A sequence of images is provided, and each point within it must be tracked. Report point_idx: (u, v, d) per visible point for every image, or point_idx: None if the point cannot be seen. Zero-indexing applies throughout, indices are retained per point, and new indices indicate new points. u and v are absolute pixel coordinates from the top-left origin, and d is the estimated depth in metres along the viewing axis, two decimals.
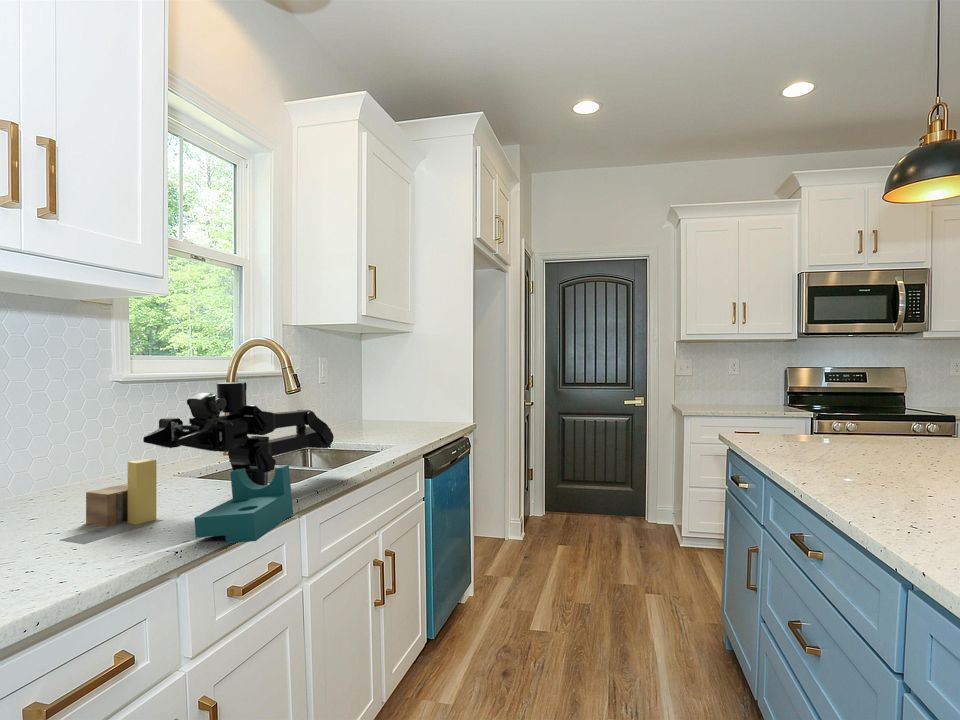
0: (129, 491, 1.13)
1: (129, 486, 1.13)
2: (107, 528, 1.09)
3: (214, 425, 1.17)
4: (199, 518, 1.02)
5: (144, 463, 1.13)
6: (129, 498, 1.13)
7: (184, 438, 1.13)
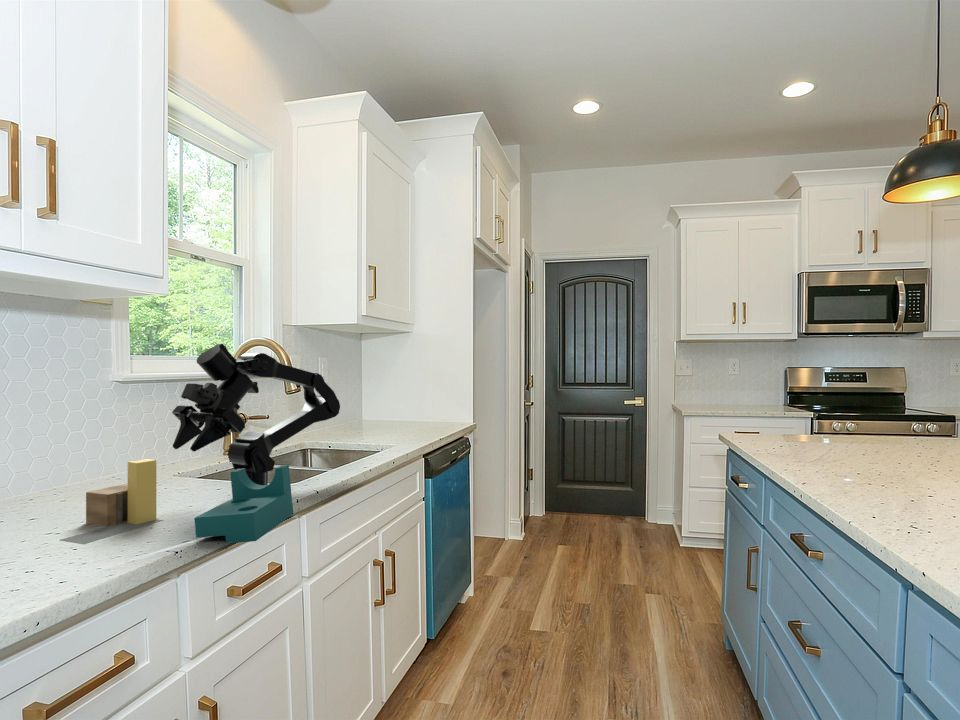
0: (129, 491, 1.13)
1: (129, 486, 1.13)
2: (107, 528, 1.09)
3: (212, 420, 1.21)
4: (199, 518, 1.02)
5: (144, 463, 1.13)
6: (129, 498, 1.13)
7: (195, 444, 1.20)
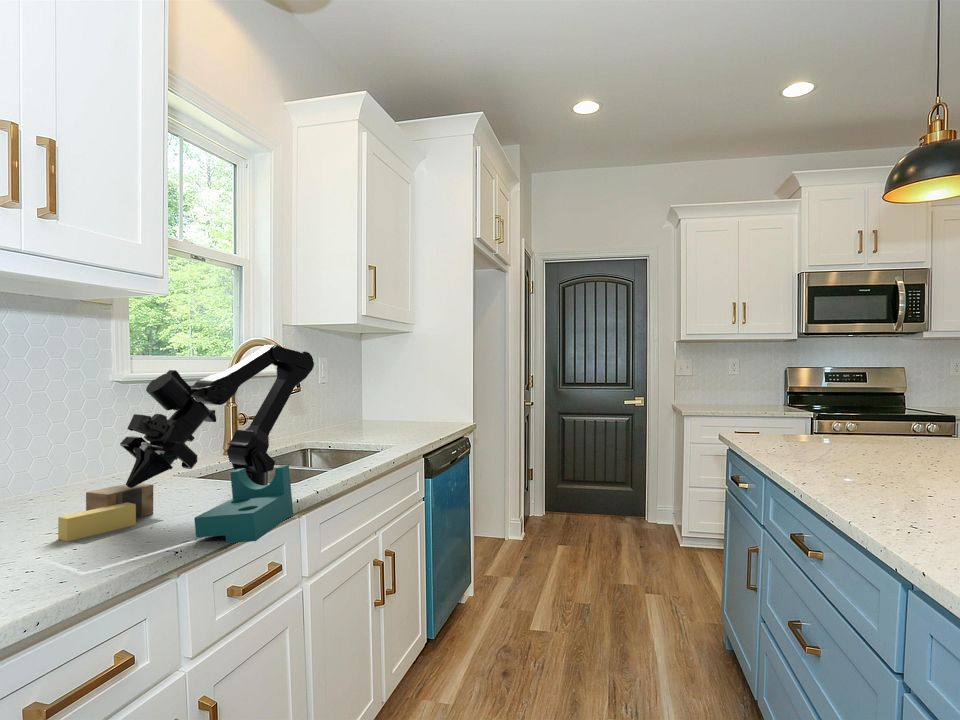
0: None
1: None
2: None
3: (152, 453, 1.13)
4: (199, 518, 1.02)
5: (69, 531, 1.02)
6: None
7: (132, 480, 1.12)
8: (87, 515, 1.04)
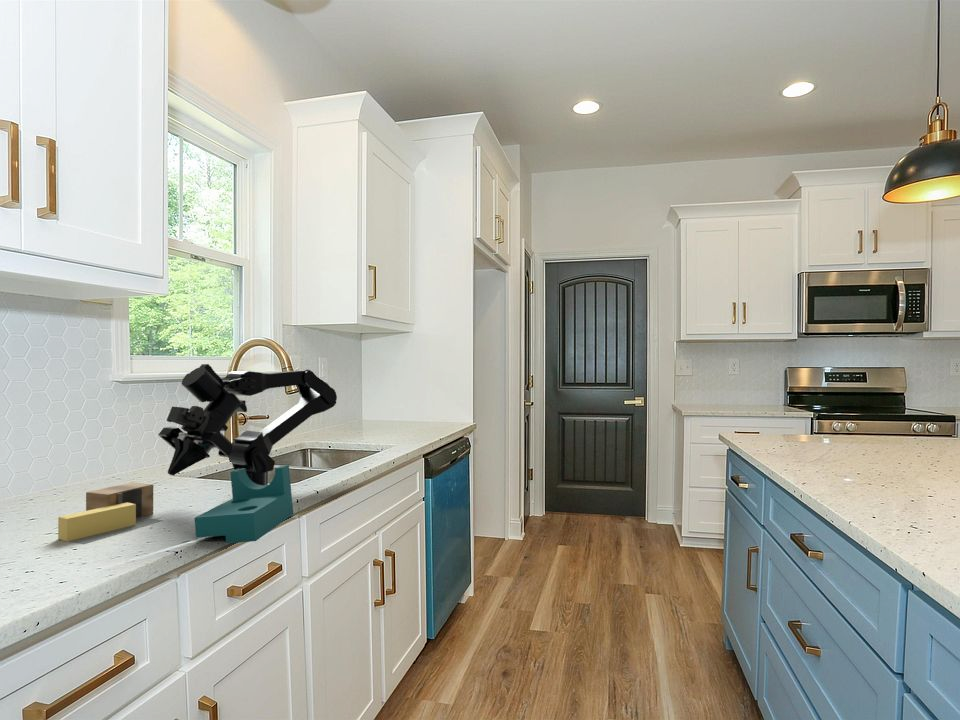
0: None
1: None
2: None
3: (190, 443, 1.20)
4: (199, 518, 1.02)
5: (69, 531, 1.02)
6: None
7: (173, 468, 1.19)
8: (87, 515, 1.04)
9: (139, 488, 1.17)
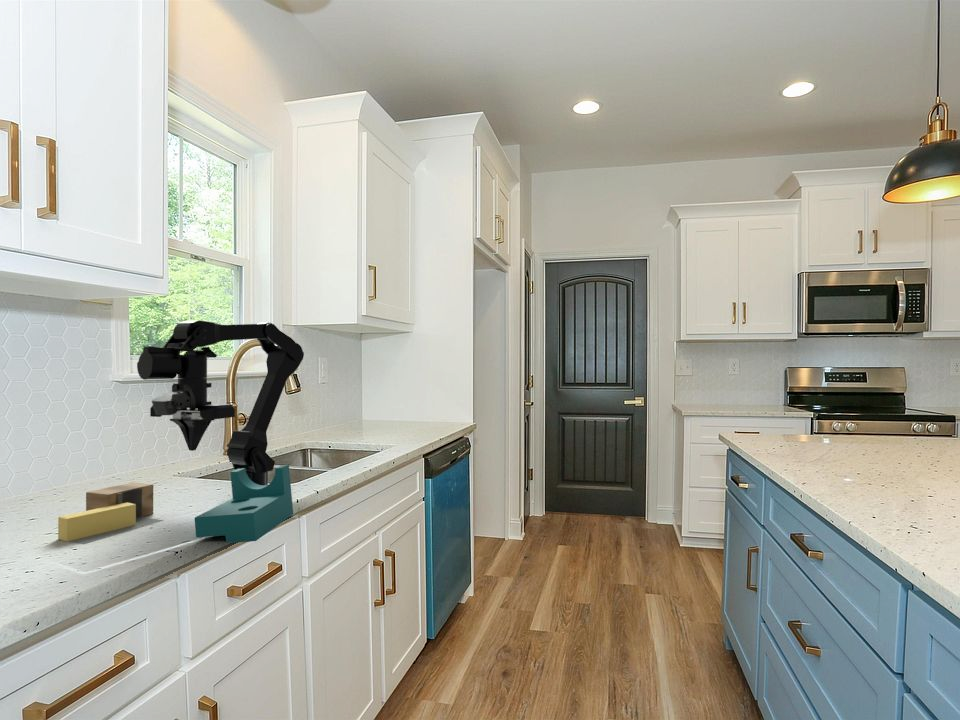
0: None
1: None
2: None
3: (193, 422, 1.21)
4: (199, 518, 1.02)
5: (69, 531, 1.02)
6: None
7: (192, 445, 1.23)
8: (87, 515, 1.04)
9: (139, 488, 1.17)
